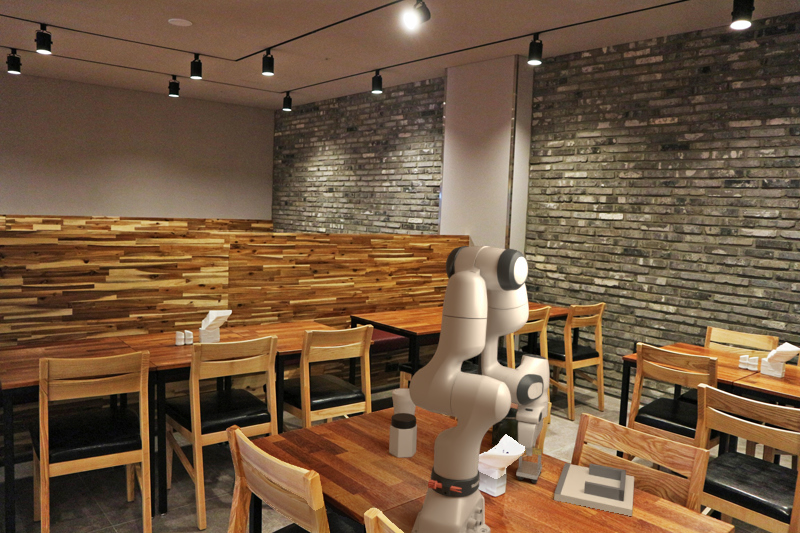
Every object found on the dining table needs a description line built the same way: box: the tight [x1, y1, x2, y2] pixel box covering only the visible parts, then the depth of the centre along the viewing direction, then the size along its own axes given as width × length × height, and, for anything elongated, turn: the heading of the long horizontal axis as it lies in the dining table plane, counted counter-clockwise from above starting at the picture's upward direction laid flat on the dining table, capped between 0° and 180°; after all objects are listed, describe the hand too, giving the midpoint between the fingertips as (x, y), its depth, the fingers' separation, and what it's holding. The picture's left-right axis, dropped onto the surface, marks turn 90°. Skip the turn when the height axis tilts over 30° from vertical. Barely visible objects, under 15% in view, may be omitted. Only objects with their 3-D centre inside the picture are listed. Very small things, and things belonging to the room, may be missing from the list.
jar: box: [388, 413, 418, 459], centre depth 187 cm, size 9×8×12 cm
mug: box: [491, 407, 518, 448], centre depth 193 cm, size 11×15×12 cm
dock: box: [553, 462, 635, 517], centre depth 164 cm, size 22×20×5 cm
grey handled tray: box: [516, 447, 543, 484], centre depth 171 cm, size 9×6×9 cm
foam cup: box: [391, 387, 417, 416], centre depth 210 cm, size 10×9×13 cm
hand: (530, 453), depth 171 cm, fingers closed
